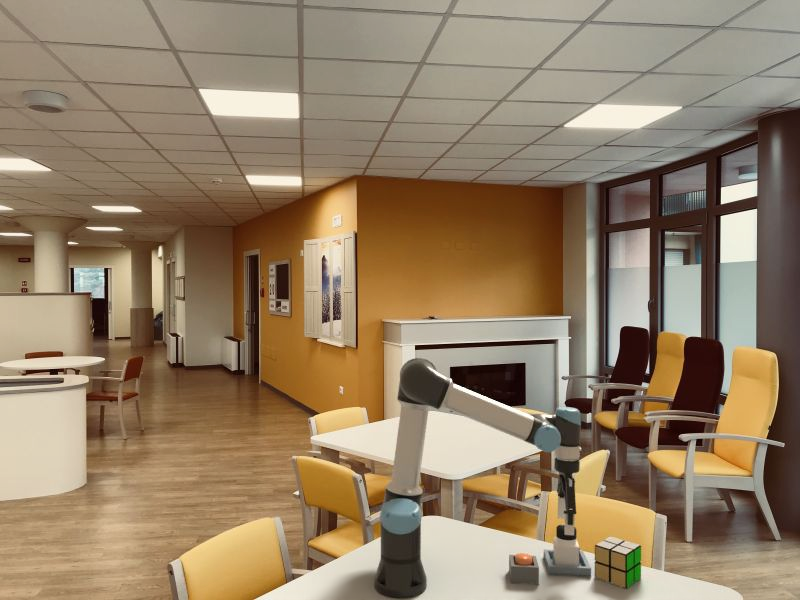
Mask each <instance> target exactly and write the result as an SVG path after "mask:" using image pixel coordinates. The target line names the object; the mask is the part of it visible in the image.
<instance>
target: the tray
mask: <svg viewBox="0 0 800 600" xmlns="http://www.w3.org/2000/svg"><path fill="white" fill-rule="evenodd" d="M553 550H554V549H543V560H544V563H545V567H546V569H547V573H548V575H549V576H564V577H565V576H566V577H567V576H569V577H570V576H571V577H587V578H588V577H589V576H590V578H591V577H592V567H591V564H590V563H589V561H588V559H587V557H586V554H585V553H584V551H583V550H580V566H565V565H555V563H554V558H553Z"/></svg>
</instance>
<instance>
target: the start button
mask: <svg viewBox="0 0 800 600" xmlns="http://www.w3.org/2000/svg"><path fill="white" fill-rule="evenodd" d="M514 555H515V565H529V566H532V556H533V555H530V554H528V553H516V554H514Z"/></svg>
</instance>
